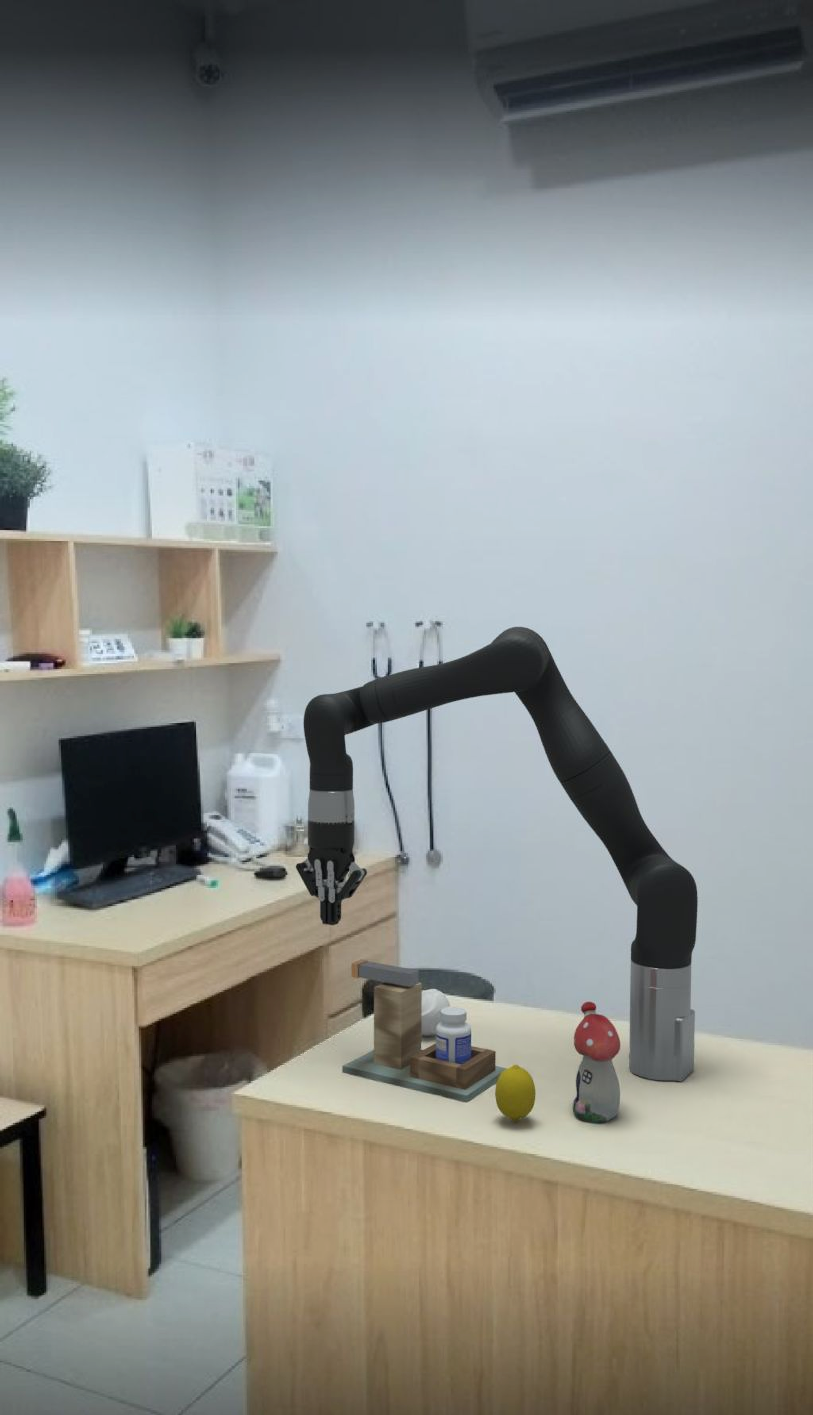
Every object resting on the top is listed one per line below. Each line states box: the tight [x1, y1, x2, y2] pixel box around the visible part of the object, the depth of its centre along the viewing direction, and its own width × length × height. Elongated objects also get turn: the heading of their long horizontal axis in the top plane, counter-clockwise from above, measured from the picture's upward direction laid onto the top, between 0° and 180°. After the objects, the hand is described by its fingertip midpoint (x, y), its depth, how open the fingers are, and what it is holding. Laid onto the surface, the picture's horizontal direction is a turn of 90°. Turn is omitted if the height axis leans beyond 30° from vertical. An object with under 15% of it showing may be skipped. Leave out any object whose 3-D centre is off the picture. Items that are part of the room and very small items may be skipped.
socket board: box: [341, 982, 508, 1103], centre depth 176 cm, size 22×13×13 cm, turn 58°
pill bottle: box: [435, 1006, 472, 1065], centre depth 173 cm, size 5×5×10 cm
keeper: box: [351, 959, 420, 987], centre depth 179 cm, size 11×3×2 cm, turn 58°
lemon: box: [494, 1064, 536, 1123], centre depth 158 cm, size 6×6×8 cm
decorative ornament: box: [572, 1001, 621, 1124], centre depth 161 cm, size 9×6×15 cm
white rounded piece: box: [421, 988, 451, 1037], centre depth 194 cm, size 8×8×8 cm
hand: (330, 923), depth 185 cm, fingers closed
